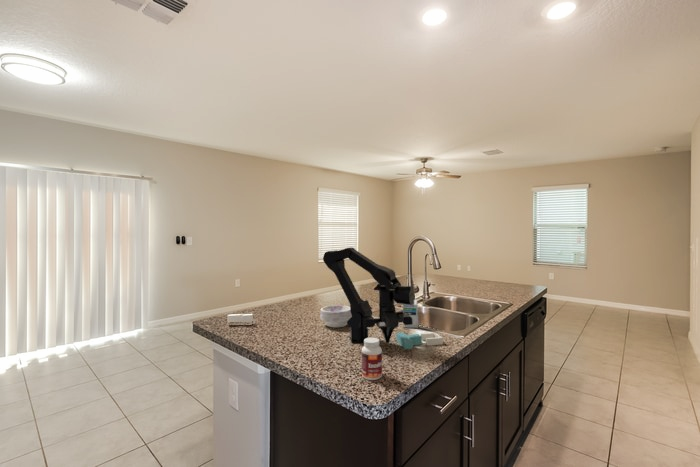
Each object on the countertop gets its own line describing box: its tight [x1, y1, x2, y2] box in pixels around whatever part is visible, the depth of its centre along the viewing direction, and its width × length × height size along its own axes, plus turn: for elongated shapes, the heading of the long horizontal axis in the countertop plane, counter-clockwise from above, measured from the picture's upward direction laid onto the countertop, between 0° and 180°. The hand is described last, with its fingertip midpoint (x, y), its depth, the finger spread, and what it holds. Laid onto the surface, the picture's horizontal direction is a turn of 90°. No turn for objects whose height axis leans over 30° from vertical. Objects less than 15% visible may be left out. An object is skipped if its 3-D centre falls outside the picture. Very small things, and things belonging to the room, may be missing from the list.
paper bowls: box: [320, 305, 352, 328], centre depth 150 cm, size 15×15×8 cm
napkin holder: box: [226, 313, 254, 323], centre depth 152 cm, size 15×11×6 cm
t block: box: [395, 331, 423, 350], centre depth 124 cm, size 8×10×3 cm
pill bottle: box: [361, 337, 383, 381], centre depth 97 cm, size 6×6×11 cm
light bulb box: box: [402, 299, 419, 329], centre depth 149 cm, size 11×7×11 cm, turn 168°
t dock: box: [419, 332, 444, 346], centre depth 125 cm, size 6×7×2 cm
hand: (387, 342), depth 122 cm, fingers closed
